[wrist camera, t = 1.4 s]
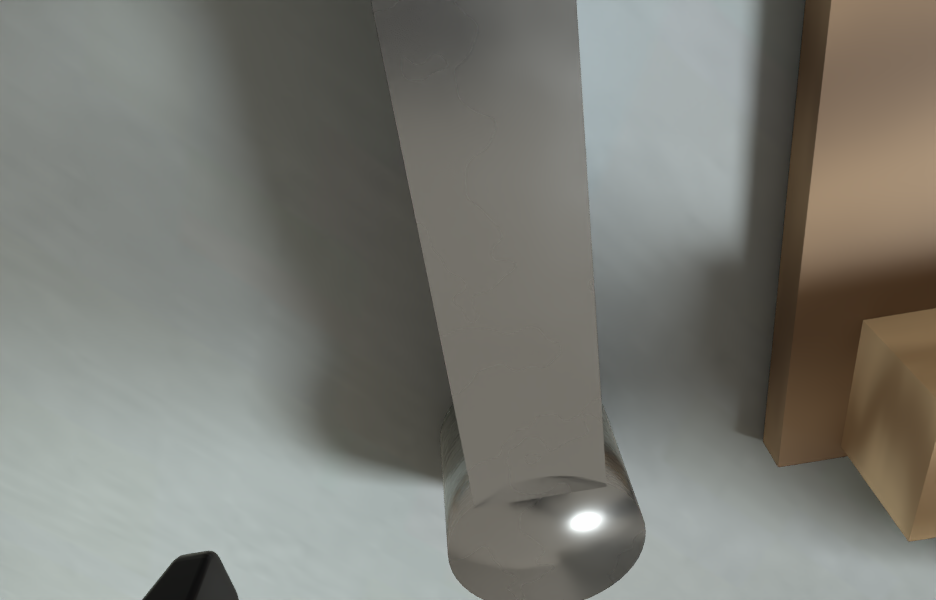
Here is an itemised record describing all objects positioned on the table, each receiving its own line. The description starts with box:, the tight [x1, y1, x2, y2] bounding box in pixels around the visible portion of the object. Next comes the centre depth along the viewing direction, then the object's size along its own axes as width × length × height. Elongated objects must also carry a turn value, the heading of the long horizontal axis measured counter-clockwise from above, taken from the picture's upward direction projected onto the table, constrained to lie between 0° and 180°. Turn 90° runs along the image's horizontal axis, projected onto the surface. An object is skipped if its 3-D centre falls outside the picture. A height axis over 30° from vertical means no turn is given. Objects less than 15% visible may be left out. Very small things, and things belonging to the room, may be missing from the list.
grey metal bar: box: [371, 0, 646, 600], centre depth 17 cm, size 26×6×4 cm, turn 8°
